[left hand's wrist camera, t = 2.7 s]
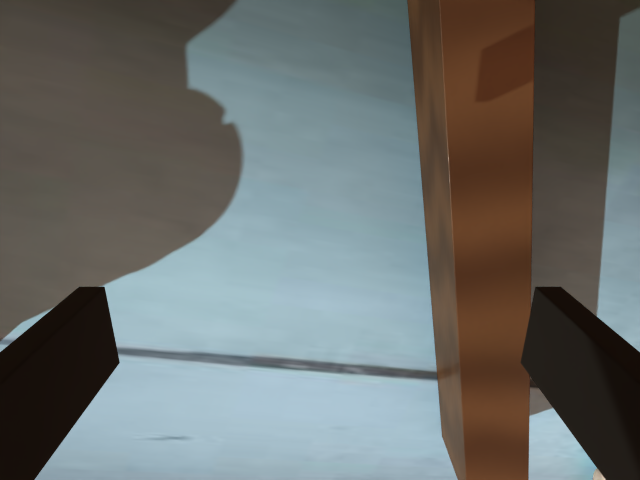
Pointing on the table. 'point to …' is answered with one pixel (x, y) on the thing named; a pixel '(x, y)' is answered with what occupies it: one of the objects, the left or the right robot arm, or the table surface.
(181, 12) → the table surface
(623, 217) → the table surface
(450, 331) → the bar
